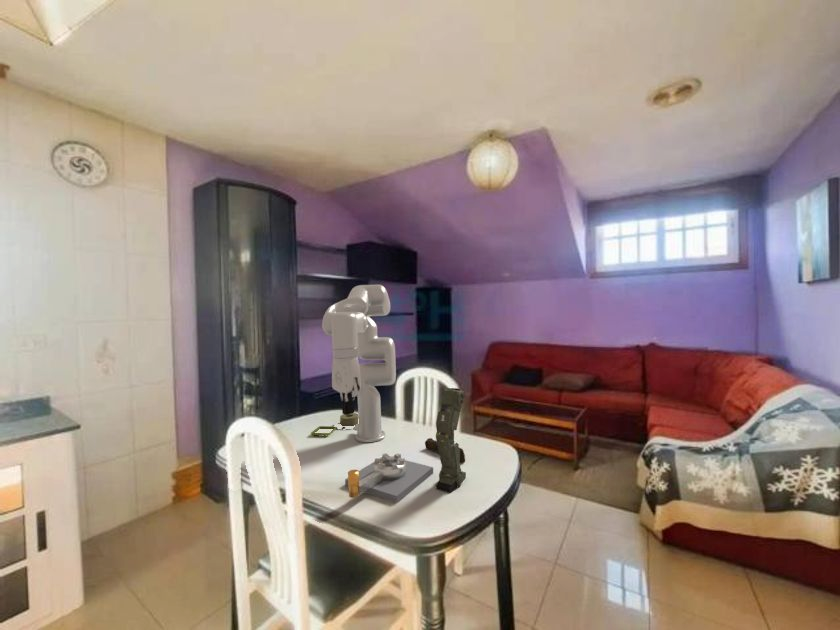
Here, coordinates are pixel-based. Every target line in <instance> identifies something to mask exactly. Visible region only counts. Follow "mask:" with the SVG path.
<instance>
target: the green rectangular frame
mask: <svg viewBox="0 0 840 630" xmlns="http://www.w3.org/2000/svg"><path fill="white" fill-rule="evenodd" d="M336 428H337V427H333V426H327V425H323V426H322V425H321V426H317V427H316V428H315V429H313V430H312V431H310V434H311V435H312V436H313V435H327V436H326V437H329V436H331V434H333V433H334V432H335V431H336V430H337V429H336ZM319 429H333V430H332V431H331V432H330V433H315V432H317V431H318V430H319ZM334 430H335V431H334ZM333 431H334V432H333ZM328 435H329V436H328Z"/></svg>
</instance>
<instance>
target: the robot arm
mask: <svg viewBox="0 0 840 630" xmlns="http://www.w3.org/2000/svg"><path fill="white" fill-rule="evenodd" d="M390 311H391V301H390V297H389V294H388V291H387V289H386V287H384V286H383V285H382V284H359V285H356V286H354V287H353V288H352V289H351V290H350V292H349V293H348V296H347V298H345V299H342V300H340V301H338V302H335V303H334V304H332V305H330V306H329V307H328V308H327V309H326V311H325V313H324V314H323V318H322V320H321V321H322V322H321V327H322V330H323V332H324V333H325V334H326V335H328V336H331V339H332V342H331V343H332V357H333V358H332V362H331V363H332V366H331V387H332V389H333V390H334V391H336V392H337V393H339V396H340V400H341V410H342V415H343V414H345V415H348V414H351V413H355V398H356V397H357V409H358V411H357V414H358V419H359V424H356V425H355V427H354V428H353V430H352V431H356V432H357V433H356V434H355V440H356V441H358V442H360V443H374V442H378V441H379V442H380V441H381V440H384V439H385V437H386V432H385V431H384V430H382V411H381V410H382V407H381V395H380V392H379V391H378V389H377V388H376V387H378V386H392V385H394V384H395V383H396V380H397V379H396V378H397V367H396V364H397V362H396V345H395V342H394V340H393V338H391V337H389V336H388V337H387V336H382V337H379V336H378V325H377V323H376V322H375V320H374V319H372V318H371V317H384V316H388V315H389V314H390ZM359 359H361V360H363V361H374V360H375V361H376V360H378V361H379V360H381V361H382V360H383V361H384V362H364V363H360V361H359Z"/></svg>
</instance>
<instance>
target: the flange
mask: <svg viewBox="0 0 840 630" xmlns="http://www.w3.org/2000/svg"><path fill="white" fill-rule="evenodd" d="M358 419H359V418H358V413H357V412H356V413H355V412H354V413H351V414H348V415H345V414H343V413H342V414H341V415H340V416H339V421H340V424H341V425H342V426H354V425H356V424H358Z"/></svg>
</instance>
